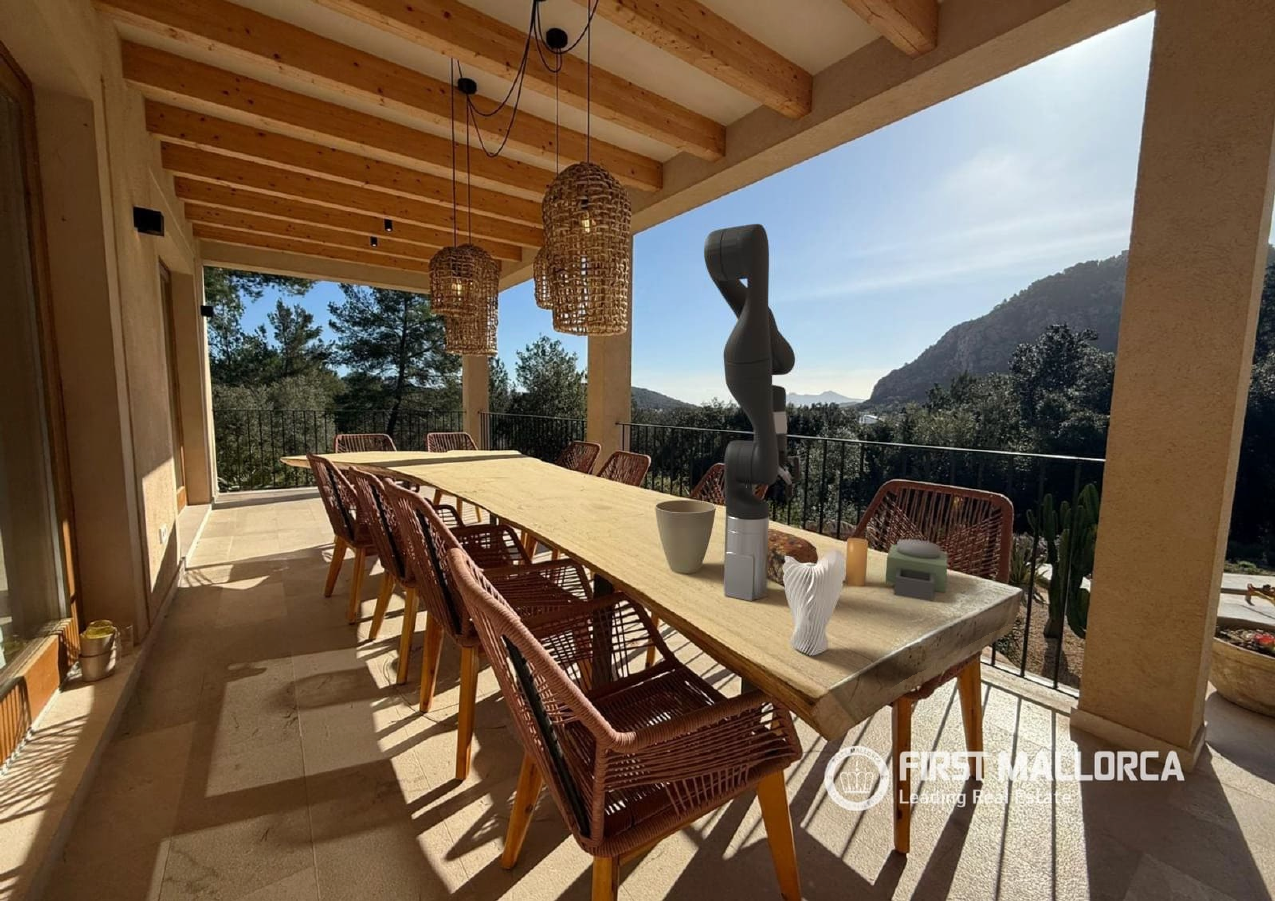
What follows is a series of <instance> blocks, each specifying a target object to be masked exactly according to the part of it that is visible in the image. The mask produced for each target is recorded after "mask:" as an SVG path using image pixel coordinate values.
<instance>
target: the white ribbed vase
mask: <svg viewBox="0 0 1275 901" xmlns="http://www.w3.org/2000/svg"><path fill="white" fill-rule="evenodd" d="M785 561H786V563H785V564H784V565H783V568H782V569H783V572H784V576H783V582H784V584H783V585H784V592H785V597H786V601H787V604H788V607H789V610H790V613H791V616H792V621H793V626H794V630H793V634H792V635H791V637H790V640H789V642H790V644H791V646H793V648H794V649H796V650H798V651H800V652H801V653H804V654H806V655H809V656H816V655H818V654H821V653H823V652H825V651H827V649H828V648H829V640H828V637H827V633H826V629H827V626H828V624H829V623H830V620H831V618H832V616H833V615H834V614H833V613H834V611H835V609H836V605H837V603H838V601H839V598H840V597H841V594H842V592H843V587H844V586H843V584H844V583H843V582H844V581H845V576H846V567H845V565H846V555H845V554H844V553H843V552H842V551H840V550H838V549H835V548H833V549H829V550H828V551H827V552H826V553H825V554H824V555H823V556H822V558H820V560H819V561H817V564H813V563H799V562H797V561H796V560H795V559H794V558H793V557H789V556H785Z"/></svg>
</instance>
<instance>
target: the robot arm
mask: <svg viewBox="0 0 1275 901" xmlns="http://www.w3.org/2000/svg"><path fill="white" fill-rule="evenodd" d="M703 248H704V249H703V257H704V263H705V268H706V270H707V272H708V275H709V276H710V278H711V280H712V282H713V283H714V284H715V287H716V288H717V289H718V291H719V293H720V294H721V296H722V297H723V299H724V301H725V302H726V303H727V304H728V306H729V308H730V309H731V310H732V312H733V313H734V315H735V317H736V319H737V321H736V323H735V325H734V327H733V329H732V331H731V333H730V335H729V336H728V339H727V341H726V343H725V346H724V350H723V366H724V377H725V384H726V386H727V389H728V390H729V392H730V393H731V396H732V397H733V398H734V400H735V401H736V403H737V404H738V405H739V407H740V408H741V409H742V410H743V412H744V414H745V415H746V416H747V418H748V419H749V422H750V423H751V425H752V428H753V440H732V441H730V442H729V443H728V445H727V446H726V449H725V453H724V460H723V461H724V462H723V467H724V468H723V470H724V471H723V472H724V475H723V476H724V502H725V503H724V504H725V524H724V525H725V529H724V533H725V534H724V557H723V558H724V562H723V563H724V564H723V565H724V567H723V592H724V596H726V597H731V598H735V599H740V600H741V599H742V600H745V601H749V602H753V601H754V600H758V599H762V598H764V597H765V596H766V595H767V593H768V592H767V590H768V589H767V588H768V586H767V585H768V578H767V563H768V534H769V529H770V528H769V527H770V510H771V509H770V504H769V502H767V501H766V500H765V499H762V498H760V497H759V496H757V495H755V491H756V489H755V488H756V487H755V486H771V485H773V484H774V483H775V482H776V481H777V478H778V475H779V476H780V477H781V478H782V479H783V480H784V481H785V483H786V484H785V494H784V495H785V497H784V498H785V499H784V500H785V501H790V500H791V499H792V497H793V496H794V484H796V483H800V482H801V481H802V480H803V479H802V458H801V456H800V455H796V456H788V452H787V451H788V450H787V448H788V447H787V446H788V445H787V444H788V441H787V440H788V438H787V437H788V432H787V431H788V419H787V412H786V411H787V392H786V388H785V387H783V386H781V385H776V384H773V376H784V375H787V374H789V373H790V372H792V370H793V369H794V366H795V363H796V356H795V352H794V349H793V347H792V346H791V343H789V342H788V340H787V339H786V338H785V337H784V336H783V334H782V333H781V332H780V330H779V329H778V328H779V327H778V325H777V322H776V318H775V316H774V313H773V310H772V309H771V308H770V306H769V288H770V287H769V282H770V281H769V277H770V245H769V239H768V234H767V230H766V229H765V227H764V225H763V224H760V223H751V224H746V225H737V226H733V227H732V226H731V227H726V228H725V227H724V228H721V229H717V230H713V231H711V232H710V233H709V234H708V235H707V237H706V239H705V242H704V246H703ZM741 280H746V282H747V283H746V284H747V286H746V285H745V284H744V283H743V282H742V281H741ZM788 462H789V463H790V466H792V467H793V477H792V475H791V474H790V472H789V470H788V469H787V467H786V465H787V464H788Z"/></svg>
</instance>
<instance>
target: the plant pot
mask: <svg viewBox="0 0 1275 901" xmlns="http://www.w3.org/2000/svg"><path fill="white" fill-rule="evenodd" d="M716 509H717V506H716V505H715V504H714V503H711V502H708V501H703V500H695V499H673V500H664V501H660V502H657V503H656V504H654V510H655V517H656V524H657V528H658V534H659V538H660V542H661V546H662V549H663V551H664V555H665V558H666V561H667V564H668V566H669V569H670V570H671V571H673V572H674V573H677V574H678V573H679V574H694V573H697V572H699V571H700V569H701V568H702V564H703V562H704V559H705V556H706V553H707V550H708V548H709V545H710V544H709V543H710V540H711V537H712V532H713V527H714V523H715V521H714V520H715V516H716Z"/></svg>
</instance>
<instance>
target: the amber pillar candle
mask: <svg viewBox="0 0 1275 901" xmlns="http://www.w3.org/2000/svg"><path fill="white" fill-rule="evenodd" d="M868 548H869V540H867V539H864V538H858V537H849V538H847V540H846V555H845V557H846V562H845V570H846V576H845V578H844V582H845V584H847V585H849V586H854V587H864V586H866V585H867V584H866V583H867V582H866V581H867V568H868V567H867V565H868V550H869V549H868Z"/></svg>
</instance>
